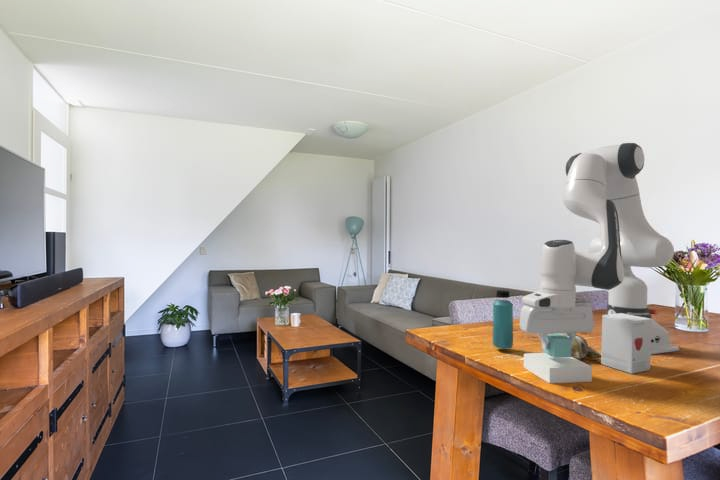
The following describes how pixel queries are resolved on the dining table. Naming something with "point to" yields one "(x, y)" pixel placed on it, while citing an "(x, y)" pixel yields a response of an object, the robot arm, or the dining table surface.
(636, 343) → the supplement box
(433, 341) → the dining table surface
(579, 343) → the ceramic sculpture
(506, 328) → the beverage bottle
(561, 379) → the stand
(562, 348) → the cube
